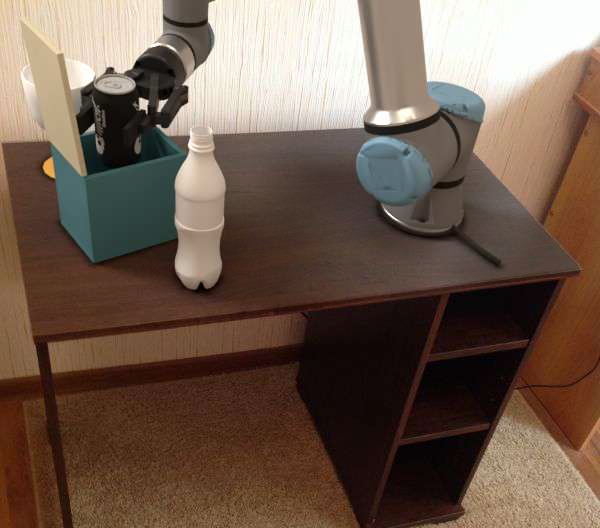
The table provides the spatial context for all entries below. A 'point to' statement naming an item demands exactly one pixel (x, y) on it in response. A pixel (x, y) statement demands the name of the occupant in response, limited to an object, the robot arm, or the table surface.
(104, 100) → the beverage can
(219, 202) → the water bottle
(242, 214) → the table surface
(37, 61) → the cooler lid
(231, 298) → the table surface
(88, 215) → the box
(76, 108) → the cup
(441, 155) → the robot arm
